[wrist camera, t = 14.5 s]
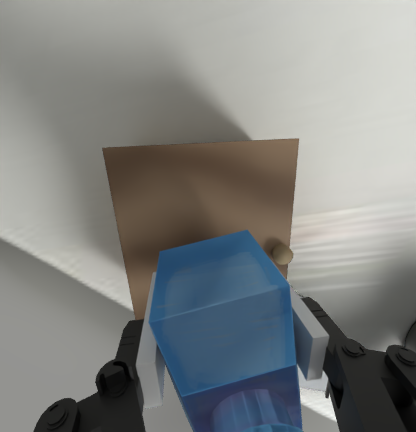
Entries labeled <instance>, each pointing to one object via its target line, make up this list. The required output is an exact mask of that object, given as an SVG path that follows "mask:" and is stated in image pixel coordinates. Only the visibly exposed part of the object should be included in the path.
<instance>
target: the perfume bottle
mask: <svg viewBox="0 0 416 432" xmlns="http://www.w3.org/2000/svg"><path fill="white" fill-rule="evenodd" d="M148 323H149V325H150V328H151V330H152V333H153V335H154V338H155V340H156V343H157V345H158V348H159V350H160V352H161V355H162V357H163V360H164V362H165V365H166V367H167V370H168V372H169V375H170V377H171V380H172V382H173V385H174V387H175V390H176V392H177V395H178V397H179V400H180V402H181V404H182V407H183V410H184V412H185V414H186V417H187V419H188V421H189V423H190V425H191V427H192V430H193V432H303V431H302V417H301V403H300V389H299V376H298V366H297V355H296V345H295V335H294V324H293V314H292V303H291V293H290V285H289V283H288V282H287V281H286V279H285V278H284V277H283V275H282V274H281V273H280V272H279V270H278V269H277V268H276V266H275V265H274V264H273V262H272V261H271V260H270V258H269V257H268V256H267V254H266V253H265V252H264V251H263V249H262V248H261V247H260V245H259V244H258V243H257V241H256V240H255V239H254V237H253V236H252V235H251V234H250V232H249V231H248V230H244V231H240V232H236V233H232V234H228V235H224V236H220V237H216V238H212V239H208V240H204V241H200V242H196V243H192V244H188V245H184V246H180V247H176V248H172V249H168V250H164V251H160V253H159V260H158V266H157V272H156V278H155V284H154V291H153V297H152V303H151V309H150V316H149V322H148Z"/></svg>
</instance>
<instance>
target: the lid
mask: <svg viewBox="0 0 416 432" xmlns="http://www.w3.org/2000/svg"><path fill="white" fill-rule="evenodd" d="M298 145H299V139H276V140H255V141H234V142H213V143H192V144H171V145H150V146H129V147H108V148H102V149H103V155H104V160H105V165H106V170H107V175H108V180H109V185H110V191H111V196H112V201H113V206H114V211H115V216H116V221H117V227H118V232H119V237H120V242H121V247H122V252H123V257H124V263H125V268H126V273H127V278H128V283H129V288H130V294H131V299H132V304H133V309H134V314H135V319H136V320H140V319H144V318H145V312H146V307H147V302H148V296H149V291H150V285H151V280H152V275H153V272H157V266H158V260H159V253H160V251H164V250H168V249H172V248H176V247H180V246H184V245H188V244H192V243H196V242H200V241H204V240H208V239H212V238H216V237H220V236H224V235H228V234H232V233H236V232H240V231H244V230H248V231H249V232H250V234H251V235H252V236H253V237H254V239H255V240H256V241H257V243H258V244H259V245H260V247H261V248H262V249H263V251H264V252H265V253H266V254H267V256H268V257H269V258H270V260H272V262H273V263H274V264H275V266H276V267H277V268H278V270H279V271H280V272H281V273H282V275H283V276H284V277H285V279H286V280H287V269H288V263H289V262H290V261H291V260H292V258H293V252H292V251H291V249H290V248H289V246H290V235H291V224H292V212H293V201H294V190H295V179H296V167H297V156H298Z"/></svg>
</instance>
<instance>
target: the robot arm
mask: <svg viewBox="0 0 416 432" xmlns="http://www.w3.org/2000/svg"><path fill="white" fill-rule="evenodd" d="M271 261H272V260H271ZM273 264H274V263H273ZM274 265H275V264H274ZM276 268H277V267H276ZM277 269H278V268H277ZM279 272H280V271H279ZM280 273H281V272H280ZM281 274H282V273H281ZM283 277H284V276H283ZM155 278H156V272H153V275H152V280H151V285H150V291H149V296H148V302H147V307H146V312H145V318H144V319H140V320H132V321H129V322H128V324H127V325H126V327H125V328H124V330H123V333H122V337H121V340H120V344H119V348H118V351H117V354H116V358H115V359H114V360H111V361H109V362H108V363H106V364H105V365H104V366H103V367H102V368H101V369H100V371H99V372H98V374H97V376H96V382H95V383H96V386H97V389H98V392H97V393H95V394H93V395H91V396H90V397H87V398H86V399H83V400H81V401H79V402H77V403H76V401H75V400H73V399H71V398H64V399H61V400H59V401H57V402H55V403H54V404H52V405H51V406H50V407H48V409H47V410H46V411H45V412H44V413H43V414H42V415H41V417H40V419H39V420H38V422H37V424H36V427H35V429H34V432H146V431H145V426H144V421H143V416H142V412H143V404H144V406H145V409H149V408H154V407H160V406H162V405H163V387H164V370H165V362H164V360H163V357H162V355H161V352H160V350H159V348H158V345H157V343H156V340H155V338H154V335H153V333H152V330H151V328H150V325H149V323H148V322H149V316H150V309H151V303H152V297H153V291H154V284H155ZM284 278H285V277H284ZM286 281H287V280H286ZM287 282H288V281H287ZM289 285H290V284H289ZM290 293H291V303H292V314H293V324H294V335H295V345H296V355H297V364H298V366H299V368H300V370H301V372H302V374H303V375H304V377H305V379H306V381H311V380H317V379H321V378H322V373H323V371H324V372H325V374H326V375H327V377H328V382H327V387H326V392H325V396H326V398H328V397H329V393H330V397H331V401H332V404H333V408H334V412H335V416H336V419H337V423H338V427H339V431H340V432H416V323H415V324H414V325H413V327H412V328H411V330H410V331H409V333H408V335H407V338H406V343H405V347H403V346H400V345H391V346H389V347H388V348H387V350H386V352H380V351H374V350H368V349H365V348H364V347H363V346H362V345H361V344H360V343H358V342H356V341H354V340H352V339H348V338H347V337H346V336H345V335H344V334H343V333H342V331H341V330H340V329H339V328H338V327H337V325H336V324H335V323H334V322H333V321H332V320H331V318H330V317H329V316H328V315H327V314H326V312H325V311H323V309H322V308H321V307H320V305H319V304H318V303H317V302H316V301H314V300H313V299H311V298H310V297H305V298H300V297H299V296H298V294H297V293H296V292H295V290H294V289H293V288H292V286H291V285H290Z"/></svg>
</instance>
